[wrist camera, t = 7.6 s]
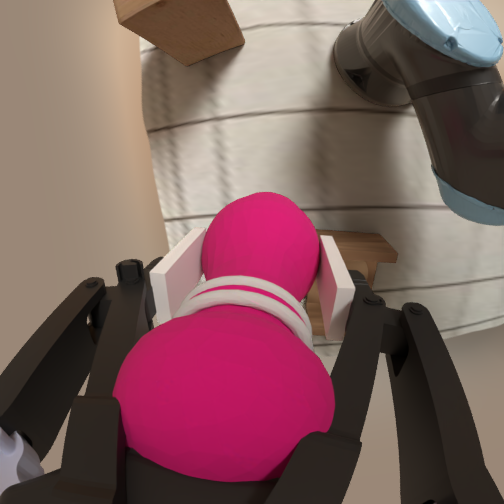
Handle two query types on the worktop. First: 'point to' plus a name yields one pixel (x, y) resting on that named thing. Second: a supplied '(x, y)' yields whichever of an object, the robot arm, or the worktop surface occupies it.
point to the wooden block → (182, 26)
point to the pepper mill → (234, 354)
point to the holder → (350, 265)
